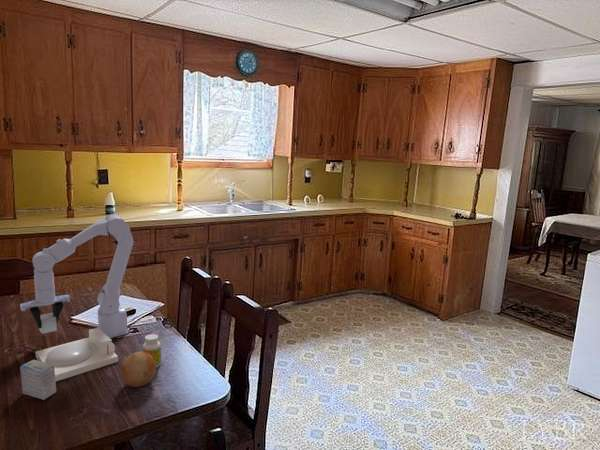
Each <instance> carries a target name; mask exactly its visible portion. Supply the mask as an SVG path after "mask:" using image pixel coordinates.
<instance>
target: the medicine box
mask: <svg viewBox="0 0 600 450" xmlns="http://www.w3.org/2000/svg"><path fill="white" fill-rule="evenodd" d="M19 370H20V371H19V372H20V382H21V389H22V394H23V395H26V396H29V397H33V398H36V399H40V400H43V401H44V400H46V399H47V398H49V397H51V396H53V395H54V394H55V393H57V381H55V370H54V365H52V364H48V363H45V362H41V361H38V360H37V359H31V360H30V361H28V362H25V363H23V364H22V365H21V366H20V367H19Z"/></svg>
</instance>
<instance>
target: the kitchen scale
mask: <svg viewBox="0 0 600 450" xmlns="http://www.w3.org/2000/svg"><path fill="white" fill-rule="evenodd" d="M112 341H113V340H112V338H109V337H108V336H107V335H106V334H105V333H103V332H102V331H101V330H100V329H99V328H98V327H95V328H91V329H88V337H86V338H82V339H78V340H73V341H70V342H67V343H62V344H59V345H55V346H51V347H48V348H44V349H39V350H37V351H35V358H36V360H37V361H41V362H45V363H48V364H52V365H54V370H55V381H56V382H58V381H59V382H60V381H62V380H65V379H68V378H72V377H74V376H78V375H81V374H83V373H87V372H91V371H93V370H96V369H99V368H103V367H105V366H109V365H112V364H116V363H118V362H119V355H117V354H116V353H115V350H116V346H115V344H114V343H113V342H112Z"/></svg>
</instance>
